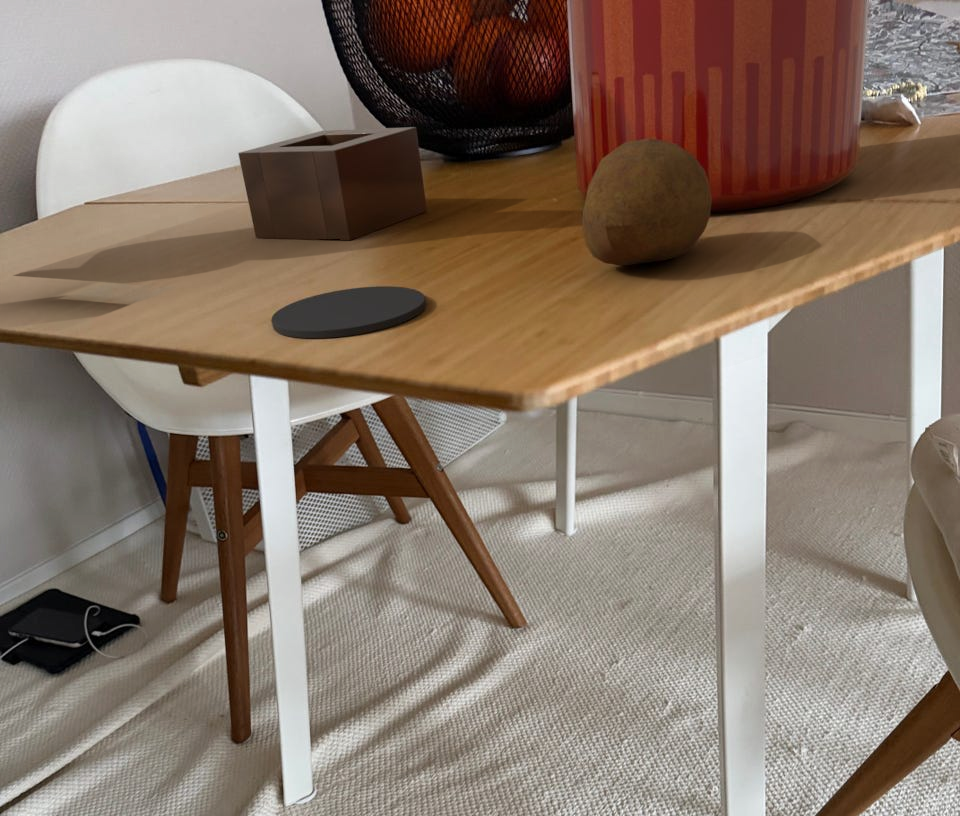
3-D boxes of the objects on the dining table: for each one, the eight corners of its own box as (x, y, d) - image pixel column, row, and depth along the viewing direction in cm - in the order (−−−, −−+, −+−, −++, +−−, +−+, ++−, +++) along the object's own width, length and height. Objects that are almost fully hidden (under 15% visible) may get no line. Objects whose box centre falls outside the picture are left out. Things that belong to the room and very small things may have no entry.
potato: (728, 239, 77) (729, 119, 73) (689, 288, 67) (688, 152, 63) (616, 242, 80) (611, 127, 76) (564, 289, 70) (555, 159, 66)
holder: (255, 237, 97) (237, 152, 93) (335, 210, 104) (322, 130, 101) (349, 240, 91) (334, 150, 88) (427, 211, 99) (416, 127, 95)
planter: (591, 232, 83) (574, -83, 73) (568, 182, 103) (551, -72, 92) (896, 197, 82) (923, -129, 72) (814, 153, 102) (826, -108, 91)
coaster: (240, 332, 70) (238, 324, 70) (341, 290, 77) (339, 283, 76) (360, 343, 65) (358, 335, 64) (456, 297, 71) (455, 289, 71)
